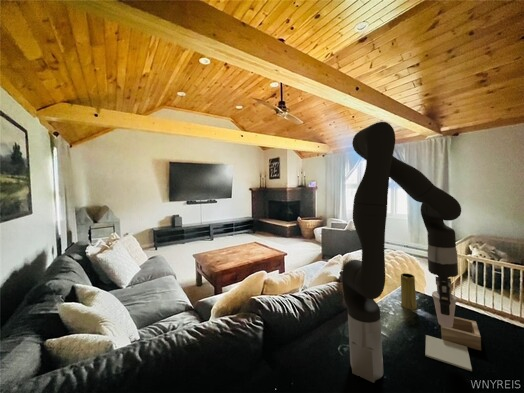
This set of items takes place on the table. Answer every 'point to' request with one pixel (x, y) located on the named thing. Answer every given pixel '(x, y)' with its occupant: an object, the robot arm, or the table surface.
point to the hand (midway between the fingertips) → (444, 308)
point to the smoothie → (442, 319)
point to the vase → (408, 291)
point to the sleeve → (463, 333)
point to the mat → (448, 352)
